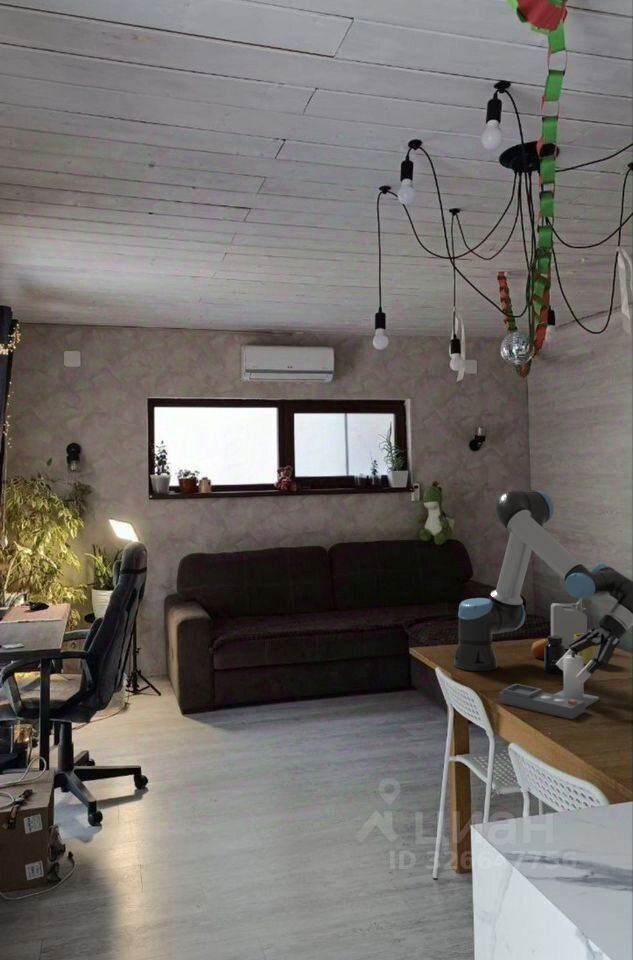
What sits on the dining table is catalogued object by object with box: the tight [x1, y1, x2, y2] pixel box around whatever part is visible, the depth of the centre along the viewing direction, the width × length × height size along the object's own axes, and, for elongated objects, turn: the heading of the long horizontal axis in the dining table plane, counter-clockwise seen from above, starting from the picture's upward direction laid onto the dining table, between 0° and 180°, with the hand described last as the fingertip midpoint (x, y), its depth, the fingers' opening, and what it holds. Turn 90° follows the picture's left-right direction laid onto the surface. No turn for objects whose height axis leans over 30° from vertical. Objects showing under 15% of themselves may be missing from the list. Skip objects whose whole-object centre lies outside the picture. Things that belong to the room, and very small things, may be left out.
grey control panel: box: [498, 683, 586, 720], centre depth 204 cm, size 22×9×4 cm, turn 47°
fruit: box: [531, 638, 548, 660], centre depth 262 cm, size 8×8×8 cm
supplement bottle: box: [543, 635, 566, 675], centre depth 243 cm, size 7×7×12 cm
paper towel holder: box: [563, 651, 585, 700], centre depth 211 cm, size 6×6×14 cm
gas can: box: [550, 598, 588, 649], centre depth 277 cm, size 15×5×25 cm, turn 83°
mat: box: [553, 689, 600, 708], centre depth 211 cm, size 11×11×1 cm
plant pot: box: [574, 633, 597, 666], centre depth 255 cm, size 10×10×10 cm
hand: (569, 673), depth 210 cm, fingers open, 13 cm apart
